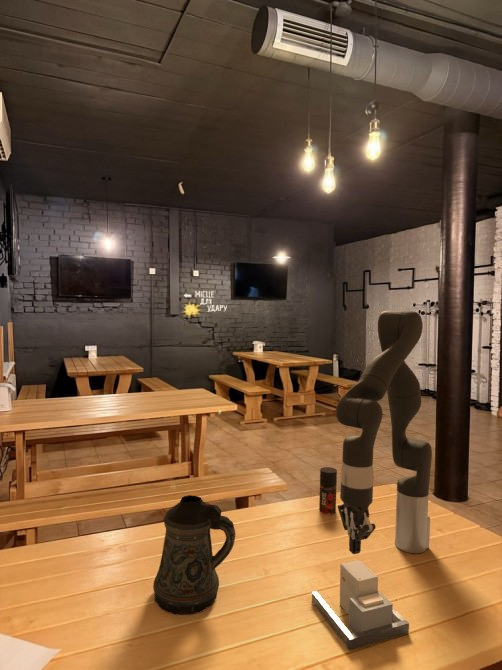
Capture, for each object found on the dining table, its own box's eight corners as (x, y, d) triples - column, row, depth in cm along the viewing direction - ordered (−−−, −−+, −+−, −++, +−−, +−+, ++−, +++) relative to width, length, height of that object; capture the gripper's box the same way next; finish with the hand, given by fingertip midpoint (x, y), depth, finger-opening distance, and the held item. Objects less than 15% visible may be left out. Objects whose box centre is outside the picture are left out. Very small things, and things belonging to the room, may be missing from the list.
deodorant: (336, 508, 167) (338, 468, 166) (334, 515, 162) (335, 473, 161) (320, 506, 169) (321, 466, 168) (317, 512, 164) (318, 471, 163)
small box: (377, 620, 108) (379, 576, 107) (357, 625, 106) (358, 581, 105) (358, 599, 115) (359, 559, 114) (338, 604, 113) (340, 563, 112)
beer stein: (147, 583, 120) (147, 490, 119) (217, 568, 128) (218, 480, 126) (161, 624, 105) (161, 518, 104) (239, 603, 113) (241, 504, 111)
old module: (378, 619, 108) (379, 588, 107) (391, 634, 103) (392, 601, 102) (348, 627, 105) (349, 595, 104) (361, 642, 100) (362, 609, 100)
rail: (364, 589, 119) (364, 580, 119) (408, 633, 103) (408, 623, 103) (311, 601, 114) (311, 592, 114) (349, 650, 98) (350, 639, 98)
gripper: (387, 490, 104) (384, 564, 105) (354, 470, 116) (352, 536, 117) (359, 494, 101) (356, 570, 102) (328, 473, 113) (326, 541, 114)
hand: (354, 552), depth 110 cm, fingers closed
